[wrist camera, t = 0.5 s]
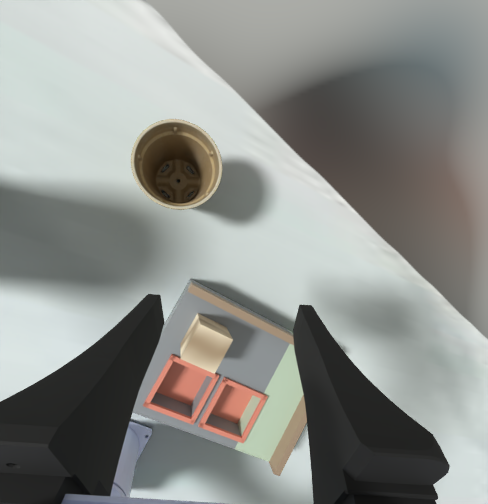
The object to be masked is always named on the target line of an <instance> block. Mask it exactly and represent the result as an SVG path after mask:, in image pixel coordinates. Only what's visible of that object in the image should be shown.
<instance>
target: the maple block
mask: <svg viewBox="0 0 488 504" xmlns="http://www.w3.org/2000/svg"><path fill="white" fill-rule="evenodd" d="M232 341H233V339H232V337H231V335H230V333H229V331H228V329H227V327H225V326H223V325H221V324H219V323H217V322H215V321H213V320H211V319H209V318H207V317H205V316H202V315H200V314H198V313H197V315H196V317H195V319H194V320H193V322H192V324H191V326H190V327H189V329H188V331H187V333H186V335H185V336H184V338H183V340H182V342H181V343H180V349H181V360H184V361H186V362H188V363H191V364H193V365H195V366H198V367H200V368H202V369H204V370H207V371H209V372H211V373H214V374H215V372H216V370H217V369H218V367H219V365H220V363H221V361H222V359H223V358H224V356H225V354H226V352H227V350H228V348H229V347H230V345H231V343H232Z"/></svg>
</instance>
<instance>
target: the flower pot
mask: <svg viewBox="0 0 488 504" xmlns="http://www.w3.org/2000/svg"><path fill="white" fill-rule="evenodd" d="M166 165H169V168H167V169H166V170H165V171H164V172H162V170H163V168H164V167H165V166H166ZM187 166H189V167H190V168H191V169H192V170H193V171H194V173H193V174H191V173H190V172H189V170H188V169H186V168H187ZM131 168H132V172H133V176H134V178H135V180H136V182H137V184H138V186H139V187H140V189H141V190H142V191H143V192H144V193H145V194H146V195H147V196H148V197H149V198H150V199H151V200H153V201H154V202H156V203H158V204H160V205H162V206H164V207H167V208H171V209H177V210H185V209H190V208H194V207H197V206H199V205H201V204H203V203H204V202H206V201H207V200H208V199H209V198H210V197H211V196H212V195H213V194H214V193H215V191H216V190H217V188H218V186H219V184H220V181H221V176H222V159H221V155H220V152H219V150H218V148H217V146H216V144H215V142H214V141H213V139H212V138H211V137H210V136H209V135H208V134H207V133H206V132H205V131H204V130H203V129H201V128H200V127H198V126H197V125H195V124H192V123H190V122H187V121H184V120H179V119H167V120H162V121H159V122H156V123H154V124H152V125H150V126H149V127H147V128H146V129H145V130H144V131H143V132H142V133H141V134H140V135H139V137H138V138H137V140H136V142H135V144H134V146H133V149H132V154H131ZM177 180H180V182H179V183H178V182H177ZM162 190H164V191H165V192H166V193H167V194H168V195H169V196H170V197H169V198H167V197H165V196H164V195H163V193H162ZM192 191H193V192H194V193H193V194H192V195H191V196H190V197H188V195H189V193H191V192H192Z"/></svg>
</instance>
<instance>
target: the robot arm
mask: <svg viewBox="0 0 488 504" xmlns="http://www.w3.org/2000/svg"><path fill="white" fill-rule="evenodd" d="M163 326H164V317H163V311H162V304H161V297H160V295H154V294H148V295H147V296H146V297H145V298H144V299H143V300H142V301H141V302H140V303H139V304H138V305H137V306H136V307H135V308H134V309H133V310H132V311H131V312H130V313H129V314H128V315H127V316H126V317H124V318H123V319H122V320H121V321H120V322H119V323H118V324H117V325H116V326H115V327H114V328H113V329H111V330H110V331H109V332H108V333H107V334H106V335H104V336H103V337H102V338H101V339H100V340H99V341H97V342H96V343H95V344H94V345H92V346H91V347H90V348H88V349H87V350H86V351H84V352H83V353H82V354H80V355H79V356H77V357H76V358H75V359H73V360H72V361H70V362H69V363H67V364H66V365H64V366H63V367H61V368H60V369H58V370H57V371H55V372H53V373H52V374H50V375H48V376H47V377H45V378H43V379H42V380H40V381H38V382H37V383H35V384H33V385H31V386H30V387H28V388H26V389H24V390H22V391H20V392H18V393H16V394H15V395H13V396H11V397H9V398H7V399H5V400H3V401H1V402H0V504H224V503H208V502H192V501H176V500H160V499H143V498H129V497H130V492H131V487H132V481H133V476H134V471H135V466H136V462H137V460H138V458H139V456H140V455H141V453H142V451H143V449H144V447H145V445H146V444H147V442H148V440H149V438H150V436H151V435H152V429H151V428H148V427H145V426H142V425H140V424H137V423H134V422H131V421H130V419H131V415H132V412H133V409H134V405H135V402H136V399H137V396H138V392H139V390H140V387H141V384H142V382H143V379H144V377H145V374H146V372H147V370H148V367H149V365H150V362H151V360H152V358H153V355H154V353H155V350H156V348H157V345H158V343H159V340H160V337H161V333H162V329H163ZM293 339H294V350H295V355H296V360H297V365H298V370H299V375H300V380H301V384H302V389H303V394H304V400H305V408H306V416H307V426H308V436H309V446H310V458H311V470H312V484H313V500H314V504H436V502H435V500H437V499H438V495H437V493H436V491H435V488H434V486H433V484H434V483H436V482H437V481H438V480H440V479H441V478H442V477H444V476H445V475H446V474H447V473H448V470H449V464H448V462H447V460H446V458H445V456H444V454H443V452H442V450H441V448H440V446H439V444H438V443H437V441H436V440H435V438H434V436H433V434H431V433H430V432H429V431H428V430H426V429H425V428H424V427H422V426H421V425H420V424H418V423H417V422H416V421H415V420H413V419H412V418H411V417H409V416H408V415H407V414H406V413H404V412H403V411H402V410H401V409H400V408H399V407H397V406H396V405H395V404H394V403H393V402H392V401H390V400H389V399H388V398H387V397H386V396H385V395H384V394H383V393H382V392H381V391H380V390H379V389H378V388H376V387H375V386H374V385H373V384H372V383H371V382H370V381H369V380H368V379H367V378H366V377H365V376H364V375H363V374H362V372H361V371H360V370H359V369H358V368H357V367H356V366H355V365H354V364H353V362H352V361H351V360H350V359H349V358H348V356H347V355H346V354H345V353H344V351H343V350H342V349H341V348H340V346H339V345H338V344H337V342H336V341H335V340H334V338H333V337H332V336H331V334H330V333H329V331H328V330H327V328H326V327H325V325H324V324H323V322H322V321H321V319H320V318H319V316H318V315H317V313H316V311H315V310H314V308H313V307H312V306H311V305H299V309H298V313H297V317H296V321H295V325H294V329H293ZM145 435H148V436H145Z"/></svg>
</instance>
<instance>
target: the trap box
mask: <svg viewBox="0 0 488 504" xmlns="http://www.w3.org/2000/svg"><path fill="white" fill-rule="evenodd" d="M197 313H198V314H200V315H202V316H205V317H207V318H209V319H211V320H213V321H215V322H217V323H219V324H221V325H223V326H225V327H227V329H228V331H229V333H230V335H231V337H232V339H233V341H232V343H231V345H230V347H229V348H228V350H227V352H226V354H225V356H224V358H223V359H222V361H221V363H220V365H219V367H218V369H217V370H216V372H215V374H214V373H211V372H209V371H207V370H204V369H202V368H200V367H198V366H195V365H193V364H191V363H188V362H186V361H184V360H181V349H180V343H181V342H182V340H183V338H184V336H185V335H186V333H187V331H188V329H189V327H190V326H191V324H192V322H193V320H194V319H195V317H196V315H197ZM133 413H136V414H138V415H141V416H144V417H147V418H149V419H152V420H155V421H158V422H160V423H163V424H166V425H169V426H172V427H174V428H177V429H180V430H183V431H185V432H188V433H191V434H194V435H196V436H199V437H202V438H205V439H207V440H210V441H213V442H216V443H218V444H221V445H224V446H227V447H229V448H232V449H235V450H238V451H240V452H243V453H246V454H249V455H252V456H254V457H257V458H260V459H263V460H265V461H268V462H269V463H270V466H271V468H272V471H273V473H274V474H275V475H278V476H280V474H281V472H282V470H283V468H284V466H285V464H286V462H287V460H288V458H289V456H290V454H291V452H292V450H293V448H294V447H295V445H296V443H297V441H298V439H299V437H300V435H301V433H302V431H303V429H304V427H305V425H306V423H307V416H306V408H305V400H304V394H303V389H302V384H301V380H300V375H299V370H298V365H297V360H296V355H295V350H294V339H293V332H292V331H290V330H288V329H286V328H284V327H282V326H280V325H278V324H276V323H275V322H273V321H271V320H269V319H267V318H265V317H263V316H261V315H259V314H257V313H255V312H254V311H252V310H250V309H248V308H246V307H244V306H242V305H240V304H238V303H236V302H234V301H232V300H231V299H229V298H227V297H225V296H223V295H221V294H219V293H217V292H215V291H213V290H211V289H210V288H208V287H206V286H204V285H202V284H200V283H198V282H196V281H194V280H192V279H190V280H189V282H188V284H187V286H186V287H185V289H184V291H183V293H182V294H181V296H180V298H179V300H178V301H177V303H176V305H175V307H174V308H173V310H172V312H171V314H170V315H169V317H168V319H167V321H166V322H165V324H164V326H163V329H162V333H161V337H160V340H159V343H158V345H157V348H156V350H155V353H154V355H153V358H152V360H151V362H150V365H149V367H148V370H147V372H146V374H145V377H144V379H143V382H142V384H141V387H140V390H139V392H138V396H137V399H136V402H135V405H134V409H133Z"/></svg>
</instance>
